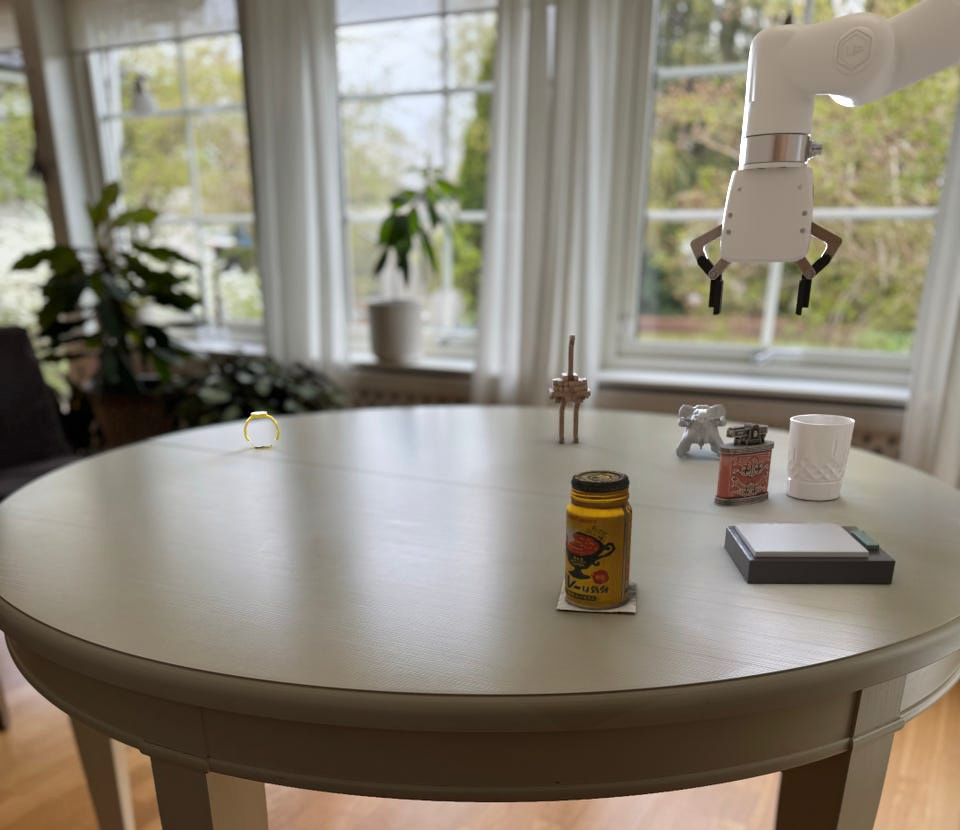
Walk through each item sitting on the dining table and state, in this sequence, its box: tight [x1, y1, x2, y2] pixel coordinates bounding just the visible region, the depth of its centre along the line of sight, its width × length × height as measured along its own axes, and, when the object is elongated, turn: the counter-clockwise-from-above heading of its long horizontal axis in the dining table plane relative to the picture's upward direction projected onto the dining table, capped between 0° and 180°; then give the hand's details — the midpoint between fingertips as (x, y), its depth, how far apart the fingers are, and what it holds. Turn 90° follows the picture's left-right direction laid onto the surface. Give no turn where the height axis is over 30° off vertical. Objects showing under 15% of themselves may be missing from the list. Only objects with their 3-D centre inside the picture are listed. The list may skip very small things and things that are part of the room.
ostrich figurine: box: [548, 333, 592, 444], centre depth 156 cm, size 17×7×18 cm, turn 1°
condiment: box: [556, 470, 638, 613], centre depth 83 cm, size 7×8×12 cm
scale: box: [724, 522, 896, 585], centre depth 92 cm, size 14×12×3 cm
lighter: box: [714, 422, 775, 507], centre depth 115 cm, size 8×3×10 cm, turn 115°
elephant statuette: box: [675, 403, 728, 459], centre depth 143 cm, size 9×12×8 cm
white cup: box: [785, 413, 856, 502], centre depth 117 cm, size 8×8×10 cm
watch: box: [243, 411, 281, 442], centre depth 154 cm, size 6×3×6 cm, turn 103°
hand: (757, 314), depth 109 cm, fingers open, 9 cm apart
